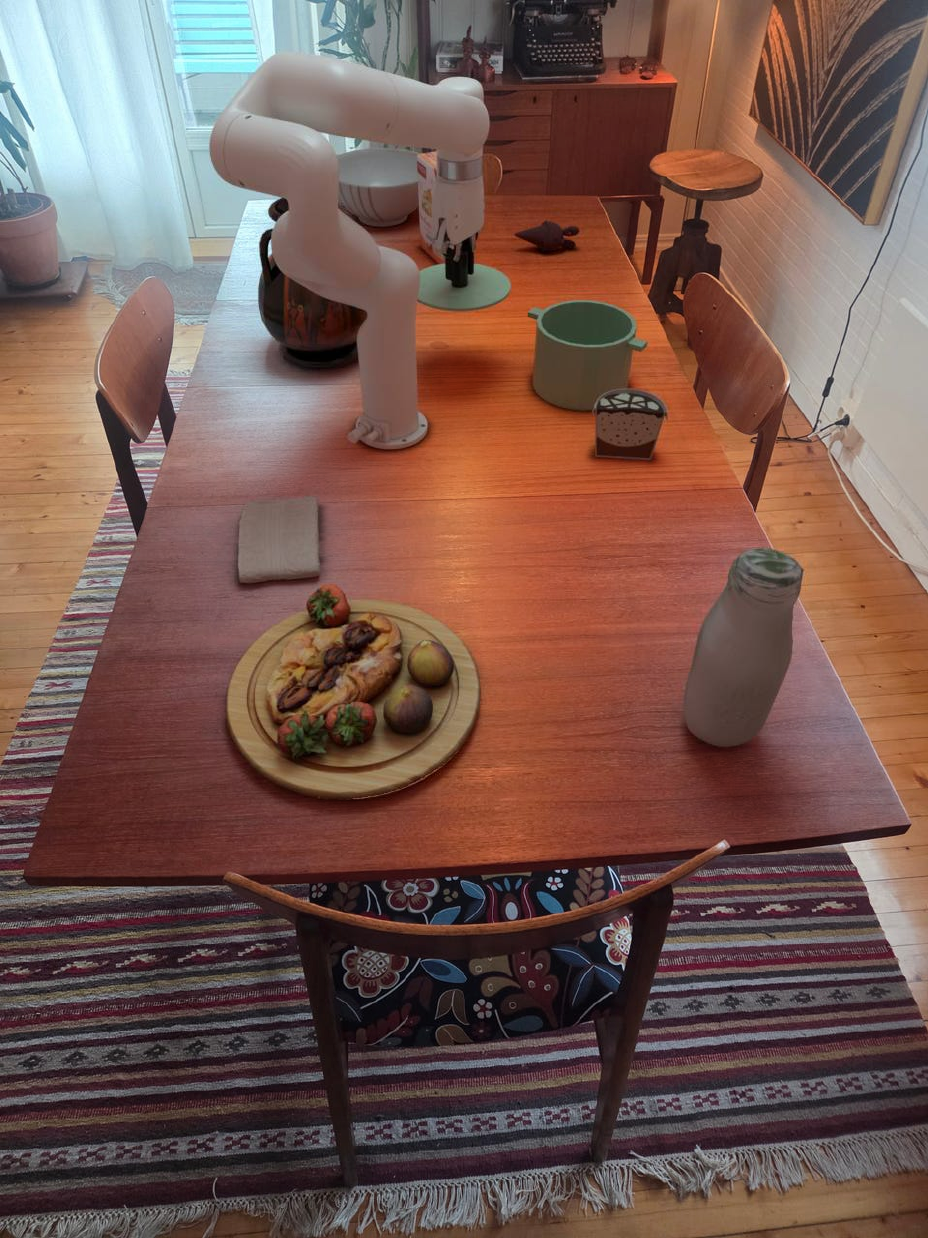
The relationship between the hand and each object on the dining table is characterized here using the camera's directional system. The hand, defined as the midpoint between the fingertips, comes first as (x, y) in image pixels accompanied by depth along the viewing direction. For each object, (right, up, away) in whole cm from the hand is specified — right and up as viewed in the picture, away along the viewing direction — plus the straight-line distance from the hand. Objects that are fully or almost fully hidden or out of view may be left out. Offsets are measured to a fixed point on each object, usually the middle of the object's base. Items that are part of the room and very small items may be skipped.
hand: (459, 275), depth 156 cm
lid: (0, -2, +2) cm, 2 cm away
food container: (+28, -32, -5) cm, 43 cm away
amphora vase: (-27, -9, +17) cm, 34 cm away
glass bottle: (+32, -75, -48) cm, 94 cm away
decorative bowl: (-20, +40, +66) cm, 79 cm away
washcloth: (-27, -50, -23) cm, 61 cm away
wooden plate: (-13, -71, -44) cm, 85 cm away
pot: (+23, -17, +9) cm, 30 cm away
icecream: (+20, +26, +52) cm, 61 cm away
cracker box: (-4, +23, +49) cm, 54 cm away
